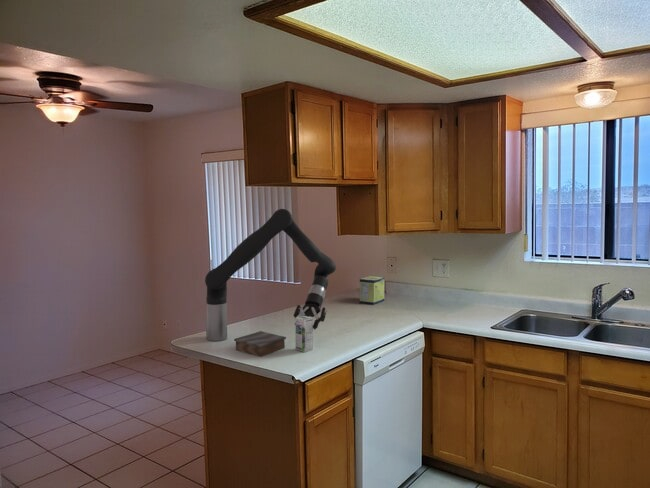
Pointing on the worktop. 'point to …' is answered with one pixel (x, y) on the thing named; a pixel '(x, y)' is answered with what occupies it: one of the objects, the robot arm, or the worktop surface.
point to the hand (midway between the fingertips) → (305, 327)
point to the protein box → (371, 290)
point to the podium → (260, 343)
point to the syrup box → (303, 333)
